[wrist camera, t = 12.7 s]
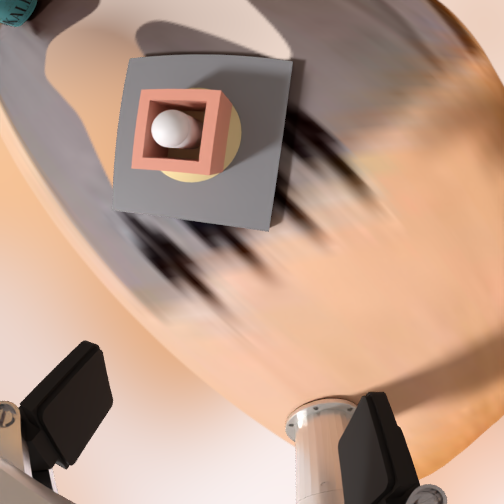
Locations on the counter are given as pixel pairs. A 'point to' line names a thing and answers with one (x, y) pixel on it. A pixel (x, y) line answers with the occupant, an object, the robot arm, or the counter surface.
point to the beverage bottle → (16, 11)
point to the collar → (213, 133)
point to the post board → (249, 165)
